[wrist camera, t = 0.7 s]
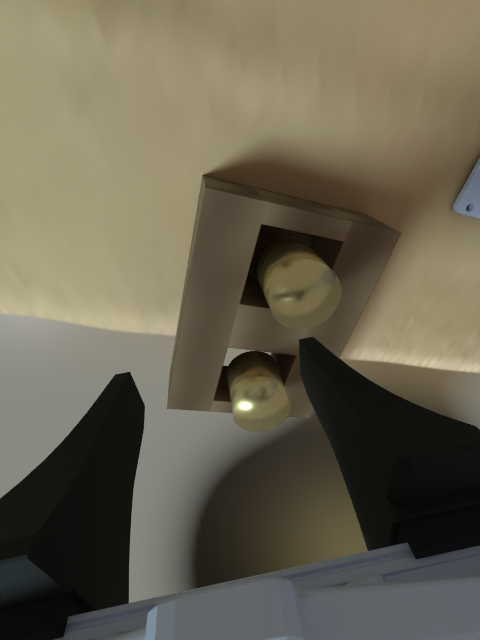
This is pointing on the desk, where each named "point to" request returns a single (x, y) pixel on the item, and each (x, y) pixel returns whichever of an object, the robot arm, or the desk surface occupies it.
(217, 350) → the walnut block
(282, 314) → the plunger
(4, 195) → the desk surface
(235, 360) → the plunger
